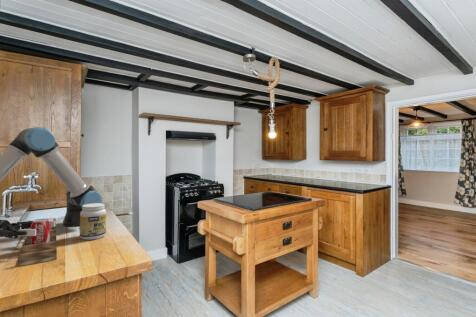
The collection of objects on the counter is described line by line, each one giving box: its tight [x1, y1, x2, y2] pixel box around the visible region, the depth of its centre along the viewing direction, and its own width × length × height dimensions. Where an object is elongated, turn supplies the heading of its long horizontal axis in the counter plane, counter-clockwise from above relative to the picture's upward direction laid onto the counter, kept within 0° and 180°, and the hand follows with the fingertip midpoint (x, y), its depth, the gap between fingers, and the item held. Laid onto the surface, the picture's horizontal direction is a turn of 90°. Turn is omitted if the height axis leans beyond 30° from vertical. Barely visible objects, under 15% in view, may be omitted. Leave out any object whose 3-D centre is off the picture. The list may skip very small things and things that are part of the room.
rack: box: [18, 228, 58, 267], centre depth 118 cm, size 12×34×4 cm, turn 35°
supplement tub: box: [79, 202, 107, 241], centre depth 137 cm, size 12×12×17 cm
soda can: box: [30, 218, 51, 245], centre depth 118 cm, size 7×7×12 cm
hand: (45, 228), depth 118 cm, fingers open, 13 cm apart
